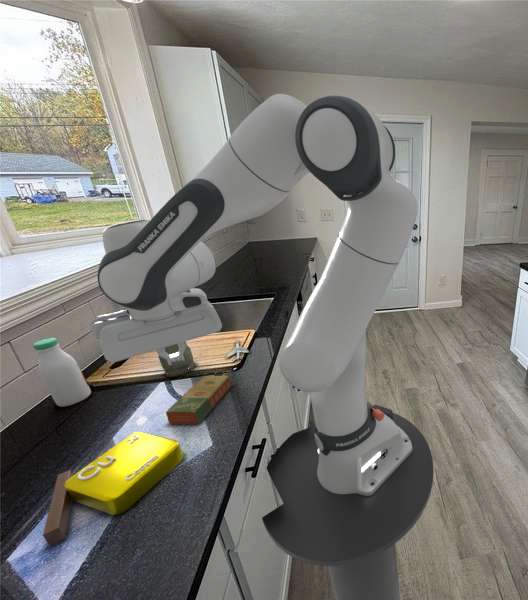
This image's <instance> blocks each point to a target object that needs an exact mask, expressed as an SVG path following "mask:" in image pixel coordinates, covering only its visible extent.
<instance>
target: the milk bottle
mask: <svg viewBox="0 0 528 600" xmlns="http://www.w3.org/2000/svg"><path fill="white" fill-rule="evenodd" d="M32 347H33V349H34V350H35V352H36V353H38V366H37V371H38V373H39V375H40V378H41V379H42V381H43V383H44V385H45V387H46V389H47V391H48V392H49V394H50V396H51V398H52V399H53V401H54V403H55V405H56V406H58V407H68V406H72V405H75V404H77V403H80V402H82V401H84V400H86V399H88V397H89V396H90V395H91V394H92V390H91V387H90V386H89V383H88V382H87V380H86V377H85V376H84V374H83V372H82V370H81V368H80V367H79V364H78V363H77V361H76V360H75V358H73V356H72V355H70V354H69V353H67V352H65V351H64V350H63V349H62V348H60V343H59V341H58V340H57V338H55V337H50V338H49V337H48V338H44V339H40V340H38V341H36V342H35V343H33V345H32Z"/></svg>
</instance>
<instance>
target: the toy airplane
mask: <svg viewBox="0 0 528 600" xmlns="http://www.w3.org/2000/svg"><path fill="white" fill-rule="evenodd" d="M240 353H250V350H249V349H247V348H245V347H243V346H241V345H240V342H239V340H238V339H236V341H235V346H234V347H233V348H232V349H231V351H230V352H229V353H228V354H227V355H226V359H228V358H230V357H231V356H233V355H236V356H234V358H233V361H237V360H240V359H241V360H243V356H241V355H240ZM239 363H240V361H237V364H239Z"/></svg>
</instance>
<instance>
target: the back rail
mask: <svg viewBox="0 0 528 600" xmlns="http://www.w3.org/2000/svg"><path fill="white" fill-rule="evenodd" d="M74 474H75V473H73V471H72V469H68V470H66V471H64V472H61V473H58V474H57V476H56V481H55V484H54V489H53V492H52V497H51V501H50V504H49V508H48V513H47V517H46V521H45V524H44V528H43V533H42V537H43V539H44V540H45V541H46V542H47V544H48V545H49V546H50V547H52V546H54V545H55V544H57V543H60V542H61V541H63V540H66V539H67V533H68V527H69V522H70V516H71V511H72V506H73V502H74V501H73V500H72V498H71V496H70V495H69V493H68V492H67V490H66V488H65V486H64V484H65V483H66V481H67V480H68V479H69V478H70V477H72V476H73V475H74Z"/></svg>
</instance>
